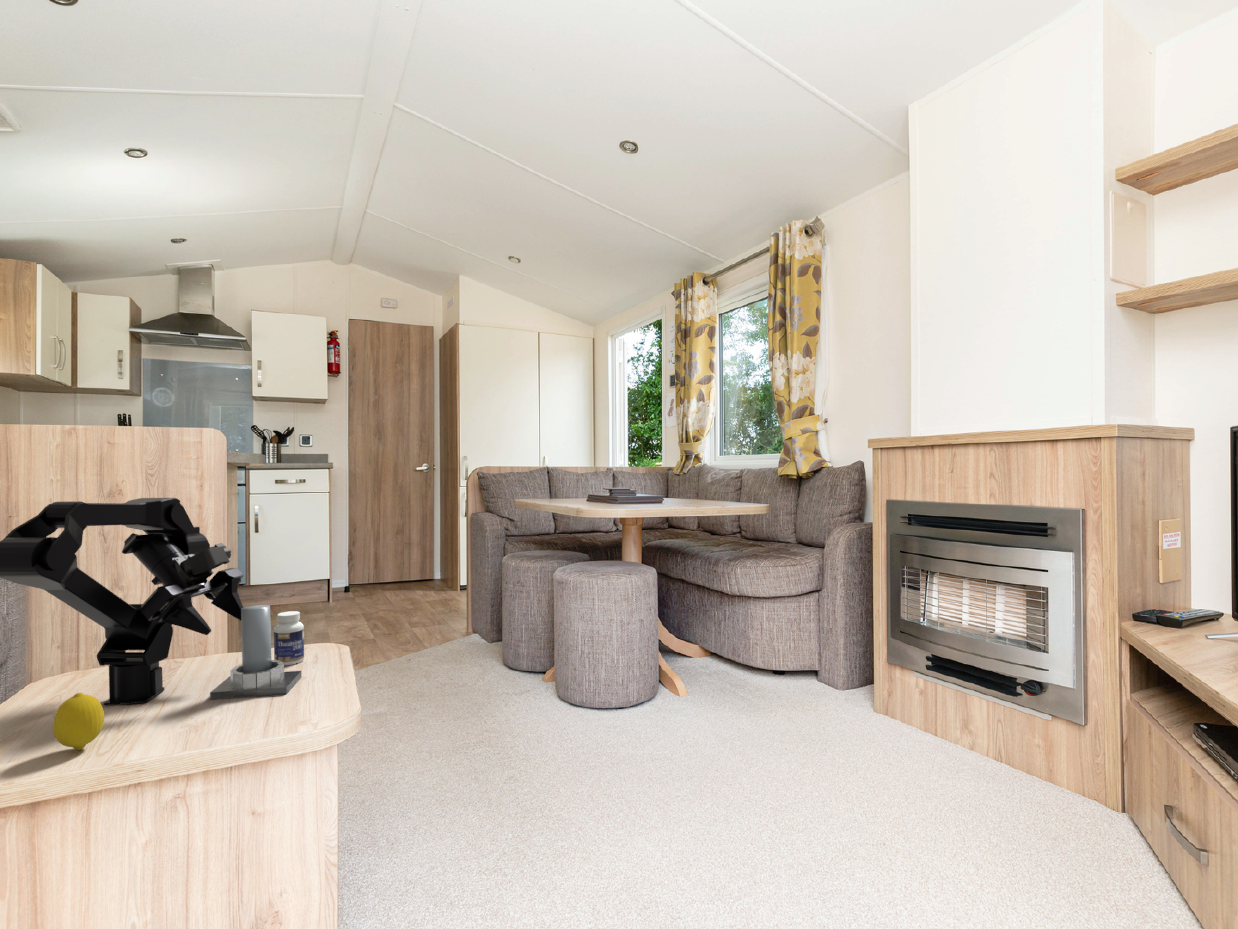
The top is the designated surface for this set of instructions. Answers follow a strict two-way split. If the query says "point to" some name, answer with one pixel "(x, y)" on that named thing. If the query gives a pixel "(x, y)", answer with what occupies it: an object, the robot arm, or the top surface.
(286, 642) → the pill bottle
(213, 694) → the duct plate
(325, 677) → the top surface
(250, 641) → the grey rounded cylinder
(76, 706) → the lemon
